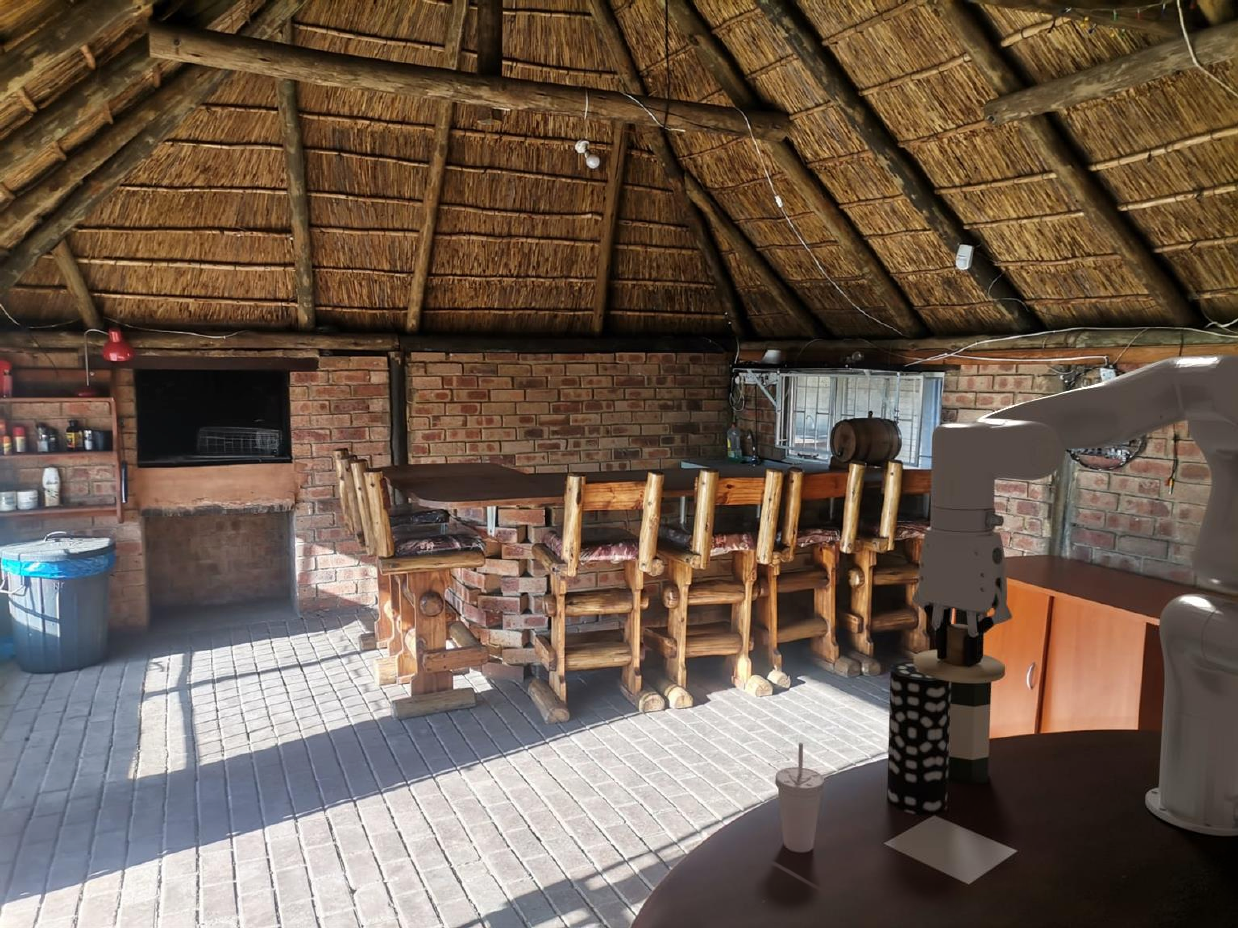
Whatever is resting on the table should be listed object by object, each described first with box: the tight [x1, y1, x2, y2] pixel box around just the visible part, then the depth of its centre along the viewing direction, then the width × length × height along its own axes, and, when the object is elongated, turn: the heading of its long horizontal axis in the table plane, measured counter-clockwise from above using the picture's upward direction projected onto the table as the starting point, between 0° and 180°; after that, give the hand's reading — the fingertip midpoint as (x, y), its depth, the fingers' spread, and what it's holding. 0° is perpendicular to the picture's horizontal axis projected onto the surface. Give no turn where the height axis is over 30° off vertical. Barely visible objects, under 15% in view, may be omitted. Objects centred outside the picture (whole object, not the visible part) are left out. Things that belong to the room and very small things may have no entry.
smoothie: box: [774, 742, 825, 853], centre depth 114 cm, size 6×6×14 cm
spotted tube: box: [886, 661, 951, 816], centre depth 126 cm, size 8×8×20 cm
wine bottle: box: [948, 609, 992, 785], centre depth 135 cm, size 8×8×30 cm
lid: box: [913, 623, 1006, 683], centre depth 111 cm, size 11×11×6 cm
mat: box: [883, 815, 1018, 885], centre depth 114 cm, size 12×12×1 cm
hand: (958, 659), depth 111 cm, fingers closed on lid, 3 cm apart
